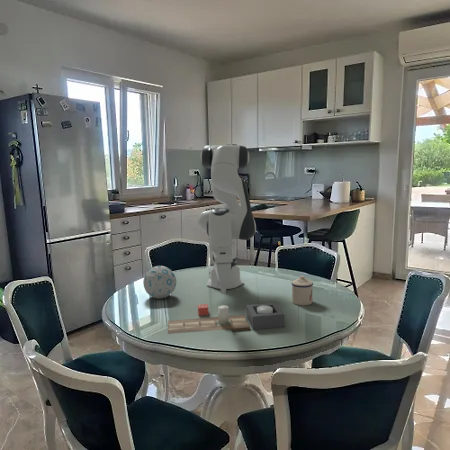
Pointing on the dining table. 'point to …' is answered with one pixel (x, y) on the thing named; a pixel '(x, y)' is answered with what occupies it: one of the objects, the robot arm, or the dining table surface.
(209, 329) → the board
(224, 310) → the pawn
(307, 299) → the teacup with lid
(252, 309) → the dome housing
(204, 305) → the die
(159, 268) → the puzzle ball
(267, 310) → the push dome
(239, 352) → the dining table surface
